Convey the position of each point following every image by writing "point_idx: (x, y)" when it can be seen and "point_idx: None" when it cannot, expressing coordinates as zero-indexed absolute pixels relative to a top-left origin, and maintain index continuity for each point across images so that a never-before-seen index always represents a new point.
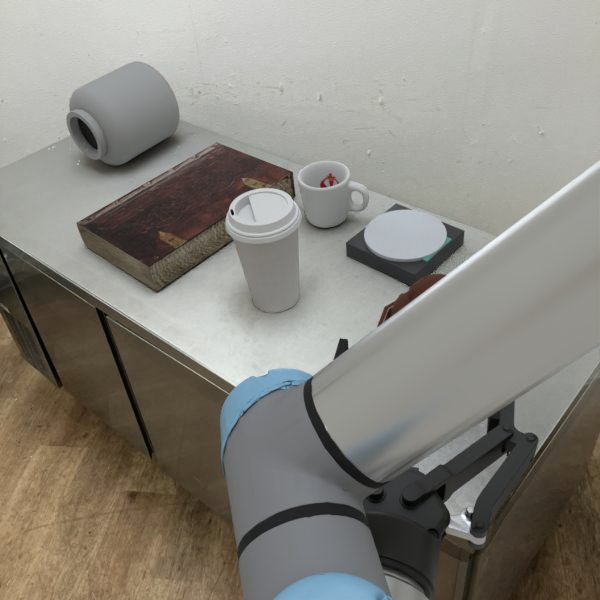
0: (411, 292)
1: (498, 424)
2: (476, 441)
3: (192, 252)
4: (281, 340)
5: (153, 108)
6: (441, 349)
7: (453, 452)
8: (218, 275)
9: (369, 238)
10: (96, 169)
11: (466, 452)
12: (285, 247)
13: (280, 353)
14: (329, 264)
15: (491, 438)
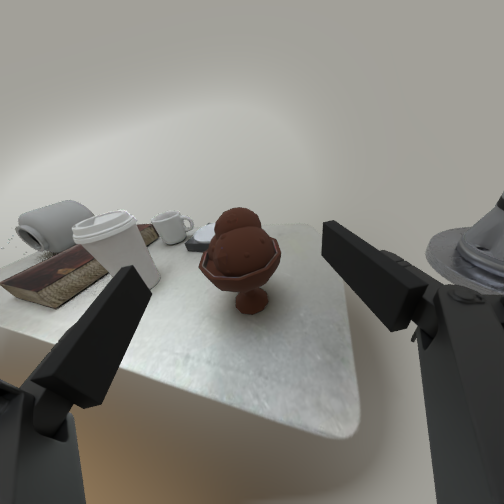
0: (216, 226)
1: (422, 297)
2: (460, 364)
3: (85, 275)
4: (145, 309)
5: (75, 217)
6: None
7: (293, 347)
8: (107, 284)
9: (196, 237)
10: (49, 257)
11: (493, 433)
12: (126, 241)
13: (144, 318)
14: (178, 257)
15: (475, 336)
